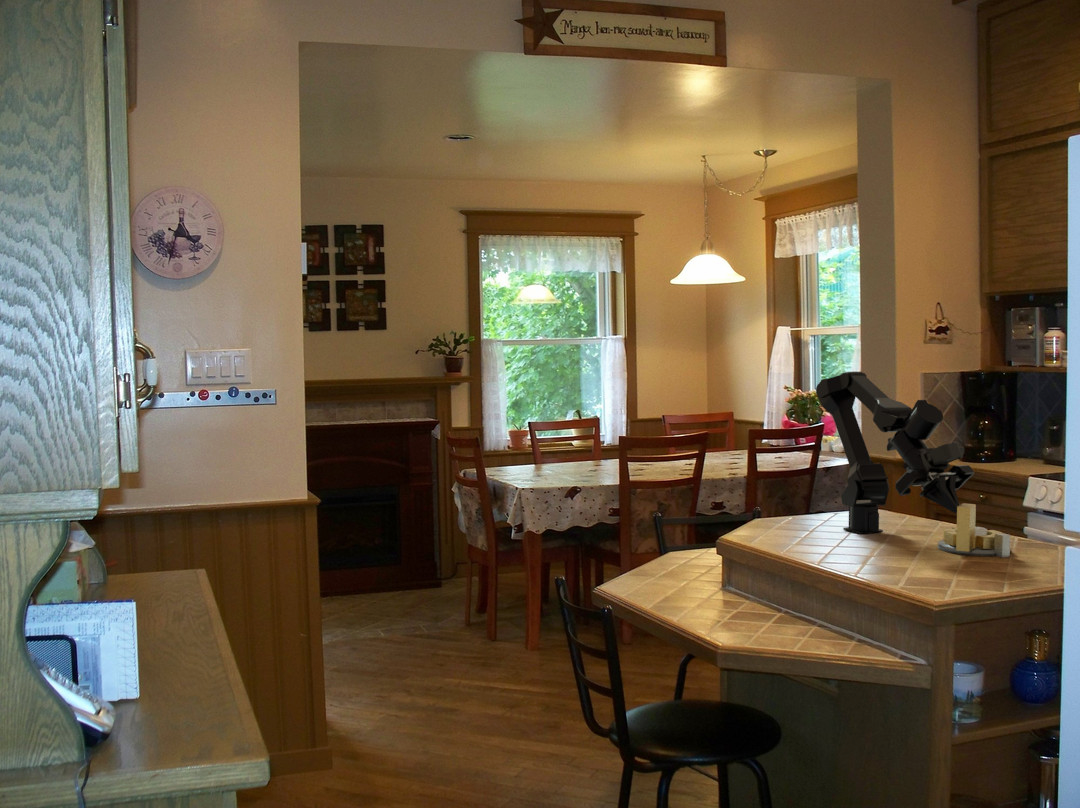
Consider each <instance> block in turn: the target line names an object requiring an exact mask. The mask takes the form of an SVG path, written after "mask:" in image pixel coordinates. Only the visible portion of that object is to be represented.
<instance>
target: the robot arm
mask: <svg viewBox="0 0 1080 808" xmlns="http://www.w3.org/2000/svg"><path fill="white" fill-rule="evenodd" d="M815 394H816V396H817V399H818V400H819V403H820V405H821V407H822V408H823V409H824V410H825V411H826V412H827V413H829V414H830V415H831V416H832V418H833V421H834V424H835V428H836V430H837V432H838V433H837V434H838V436H839V439H840V442H841V445H842V447H843V451H844V454H845V456H846V459H847V461H848V466H849V472H848V475H847V478H846V480H847V485H846V487H845V489H844V490H843V491H842V493H841V495H840V498H841V503H842V505H844V506H847V507H848V526H847V527H843V529H842V530H843V531H848V532H851V533H857V534H860V535H861V534H862V535H867V534H877V533H876V532H878V533H884V530H883V529H880V512H879V506H884V507H885V506H886V504H887V499H888V495H889V490H890V484H889V481H888V480H889V477H888V475H887V474H886V471H885V468H884V466H883V464H882V463H874V461H872V459H871V456H870V453H869V450H868V448H867V445H866V441H865V440H864V437H863V434H862V431H861V428H860V426H859V423H858V419H857V417H856V414H855V411H854V408H853V407H854V404H855V402H856V399H858V401H860V402H861V404H863V405H864V406H865V407H866V408H867V409H868V410H869V412H871V413H872V421H873V423H874V424H875V425H876V427H877V429H878V430H879V431H880V432H882V433H894V435H893V436H892V437H888V438H887V444H886V451H888V452H890V451H895V450H896V453H898V455H899V456H900V457H901V459H902V460H903V462H904V464H903V465H902V468H903V469H904V470H905V472H904V473H903V474H902V475H901V476H900V478H898V480H897V481H896V482H895V487H894V488H895V491H896V492H897V493H898V495H899V496H900V497H901V496H910V494H911V492H912V490H911V489H910V487H911V486H912V487H919V486H921V489H922V491H921V492H920V493H919V496H920V497H923V498H925V499H928V500H929V501H932V502H934V503H936V504H938V505H940V506H941V507H942V508H945V509H946V510H949V511H950V512H952V513H953V514H957V506H959V505H960V502H959V501H960V500H959V498H958V495H957V490H960V489H961V487H963V485H965V483H966V482H968V481H969V479H970V478H972V477H973V476H974V475H975V471H974V470H973V468H972V467H971V465H968V464H959V465H953V466H952V467H951V465H950V463H952V462H954V461H956V460H962V459H963V456H964V455H965V447H964V446H962V445H961V443H960V442H959V441H954V440H953V441H951V442H950V443H949V442H948V443H945V444H941V445H939V446H937V447H929V446H928V445H927V444H926V442H925V440H928V439H930V438H931V436H932V435H933V434H934V432H935V431H936V430H937V428H938V427H939V425H940V424H941V423H942V422H943V420H944V414H943V412H942V411H941V409H939V408H938V407H937V406H934V405H933V404H931V403H928V401H927V399H917V400H916V402H915V403H914V406H913V407H912V408H911V406H909V405H907V404H905V403H903V402H901V401H898V400H895V399H893V398H890V397H888V395H887V394H886V393H885V392H884V391H882V390H881V388H879V387H878V386H877V385H875V383H874V382H872V381H871V380H870V379H869V378H868V377H867V374H866V373H865V372H862V371H845V372H842V373H841V374H838V375H836V376H833V377H829V378H822V379H821V380H820V381H819V383H818V384H817V385H816V387H815ZM949 467H951V468H950V469H949V470H948V471H947V472H945V470H947V469H948V468H949Z"/></svg>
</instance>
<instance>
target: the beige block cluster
mask: <svg viewBox="0 0 1080 808" xmlns="http://www.w3.org/2000/svg"><path fill="white" fill-rule="evenodd" d="M976 507H977V504H974V503H965V502H963V503H961V504H959V506H957V513H956V527H951V528H945V529H944V530H943V539H942V540H943V542H945V543H946V544H949V545H952V546H956V550H958V551H967V552H970V551H971V550H972V549H975V548H977V547H979V548H982V549H995V534H999V533H1003V532H1001V531H998V530H996V529H995V530H994V529H989V530H988V529H987V535H975V527H976V517H977V516H976V514H977V513H976V512H977V511H976V510H977V508H976Z"/></svg>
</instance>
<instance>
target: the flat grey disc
mask: <svg viewBox="0 0 1080 808" xmlns="http://www.w3.org/2000/svg"><path fill="white" fill-rule="evenodd" d="M987 530H988V528H985V527H982V526H975V535H987ZM943 540H944V539H940V540H939V541H937V549H938V550H940V551H943V552H946V553H951V554H955V555H960V556H961V555H963V556H969V557H970V556H972V557H999V558H1003V559H1004V558H1009V557H1010V555H1011V534H1007V533H1003V532H1002V533H999V534H995V549H982V548H979V547H977V548H975V549H972V550H971V551H970V552H967V551H958V550H956V546H952V545H949V544H946V543H945V542H943Z"/></svg>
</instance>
